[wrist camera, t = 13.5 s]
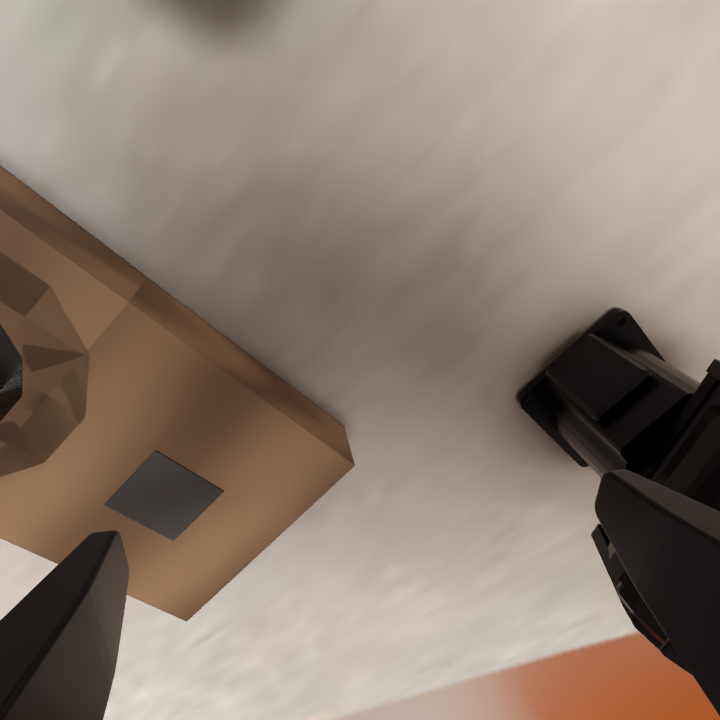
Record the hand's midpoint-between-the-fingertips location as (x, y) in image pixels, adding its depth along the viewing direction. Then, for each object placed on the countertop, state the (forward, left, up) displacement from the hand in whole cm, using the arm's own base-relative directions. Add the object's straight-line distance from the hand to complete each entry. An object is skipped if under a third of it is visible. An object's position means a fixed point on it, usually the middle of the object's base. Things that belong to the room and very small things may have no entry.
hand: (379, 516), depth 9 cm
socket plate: (+4, +9, -13) cm, 16 cm away
